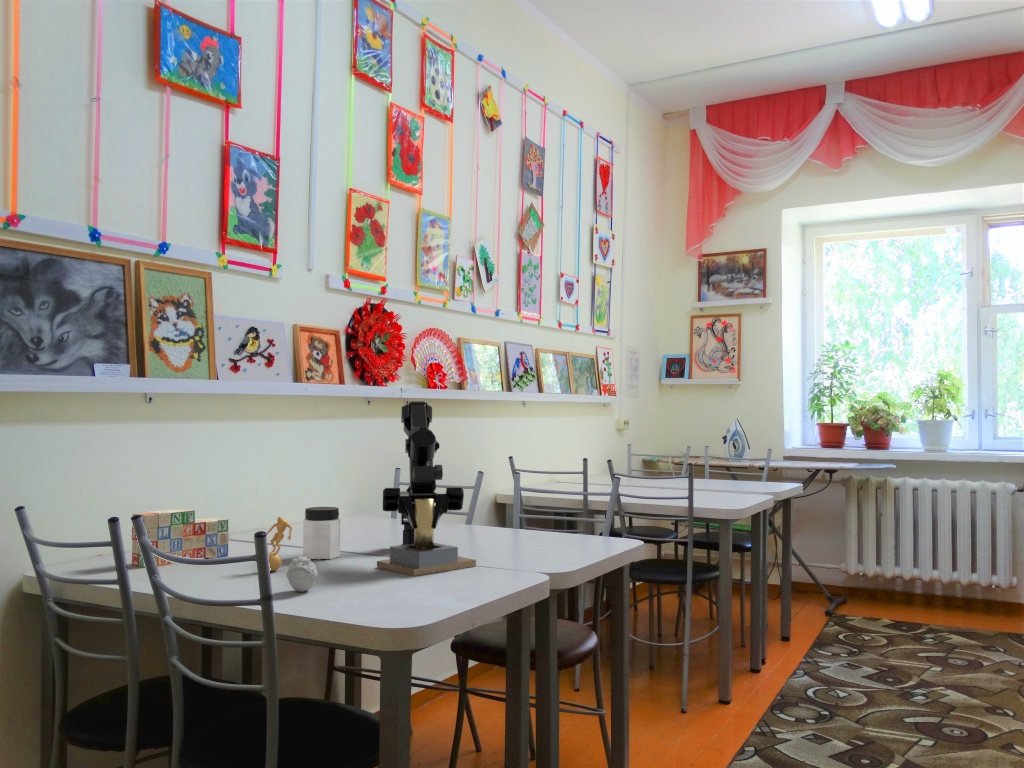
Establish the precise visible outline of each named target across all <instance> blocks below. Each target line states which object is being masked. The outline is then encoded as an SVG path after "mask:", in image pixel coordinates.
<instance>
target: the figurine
mask: <svg viewBox="0 0 1024 768" xmlns="http://www.w3.org/2000/svg"><path fill="white" fill-rule="evenodd" d="M276 521H277V522H276V523H273V524H272V526H271V527H270V528H269V529H268V530H267V532H266V534H265V535H266V537H267V535H268V534H269V533H271V531H272V530H274V528H276V532H275V533H274V535H273V537H272V538H271V540H270V545H271V546H272V547H273V548H272V550H271V551H270V552H269V553H267V555H268V556H269V563H270V568H271V571H270V572H276V571H278V570H279V569H280V567H282V566H281V565H282V558H281V557H280V555H279V554H278V553H279V552H280V549H281V544H280V543H281V541H283V539H284V537H285V534H284V532H285V530H286V529H287V528H289V532H288V536H287V538H286V539H287V540H291V538H292V531H293V527H292V526H291V524H290V523H289V520H287V519H286V518H282V517H281V516H278V517H277V520H276ZM276 549H277V550H276Z"/></svg>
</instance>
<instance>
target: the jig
mask: <svg viewBox="0 0 1024 768" xmlns="http://www.w3.org/2000/svg"><path fill="white" fill-rule="evenodd" d="M458 549H459V548H458V546H452V545H450V544H449V545H447V544H443V543H436V542H434V548H433V549H425V550H419V549H414V544H406V545H401V544H399V545H392V546H389V558H388V559H382V560H377V561H376V568H378V569H382V570H386V571H390V572H394V573H399V574H403V575H407V576H411V577H418V576H422V575H423V576H424V575H431V574H437V573H441V572H442V571H443V572H449V571H453V570H455V569H456V570H461V568H462V569H467V568H466V567H468V568H474V567H473V566H475V567H477V560H476V559H474V558H467V557H465V556H459V550H458ZM436 572H437V573H436Z"/></svg>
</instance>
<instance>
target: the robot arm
mask: <svg viewBox="0 0 1024 768" xmlns="http://www.w3.org/2000/svg"><path fill="white" fill-rule="evenodd" d="M400 412H401V413H400V419H401V420H400V421H401V422H400V423H402V424H403V431H404V433H405V434H406V436H407V438H405V441H404V442H405V443H404V451H405V454H407V458H408V459H409V460H408V461H409V464H408V465H409V486H408V488H406V490H403V491H402V490H401V487H384V489H383V490H382V511H384V512H398V514H400V524H401V526H403V530H402V544H400V545H406V544H414V529H415V499H417V498H433V499H434V530H435V529H436V528H437V525H438V524H439V520H440V519H441V517H442V516H443V514H446V513H448V511H461V510H462V509H463V505H464V495H465V494H464V491H465V490H464V488H462V487H461V486H456V487H455V486H452V487H451V486H449V487H448V486H447V487H446V490H445V493H438V492H436V490H437V484H436V483H437V481H442V480H443V477H444V476H443V475H444V473H443V465H442V464H434V458H435V454H437V451H438V449H440V442H438V441H437V438H436V436H435V434H434V432H433V431H432V430H431V429H429V428H430V424H431V423H432V421H433V406H431V405H430V404H428V401H425V400H424V401H423V400H422V401H417V400H415V401H413V400H412V401H409V402H408V404H405V405H403V406H401V411H400Z"/></svg>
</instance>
